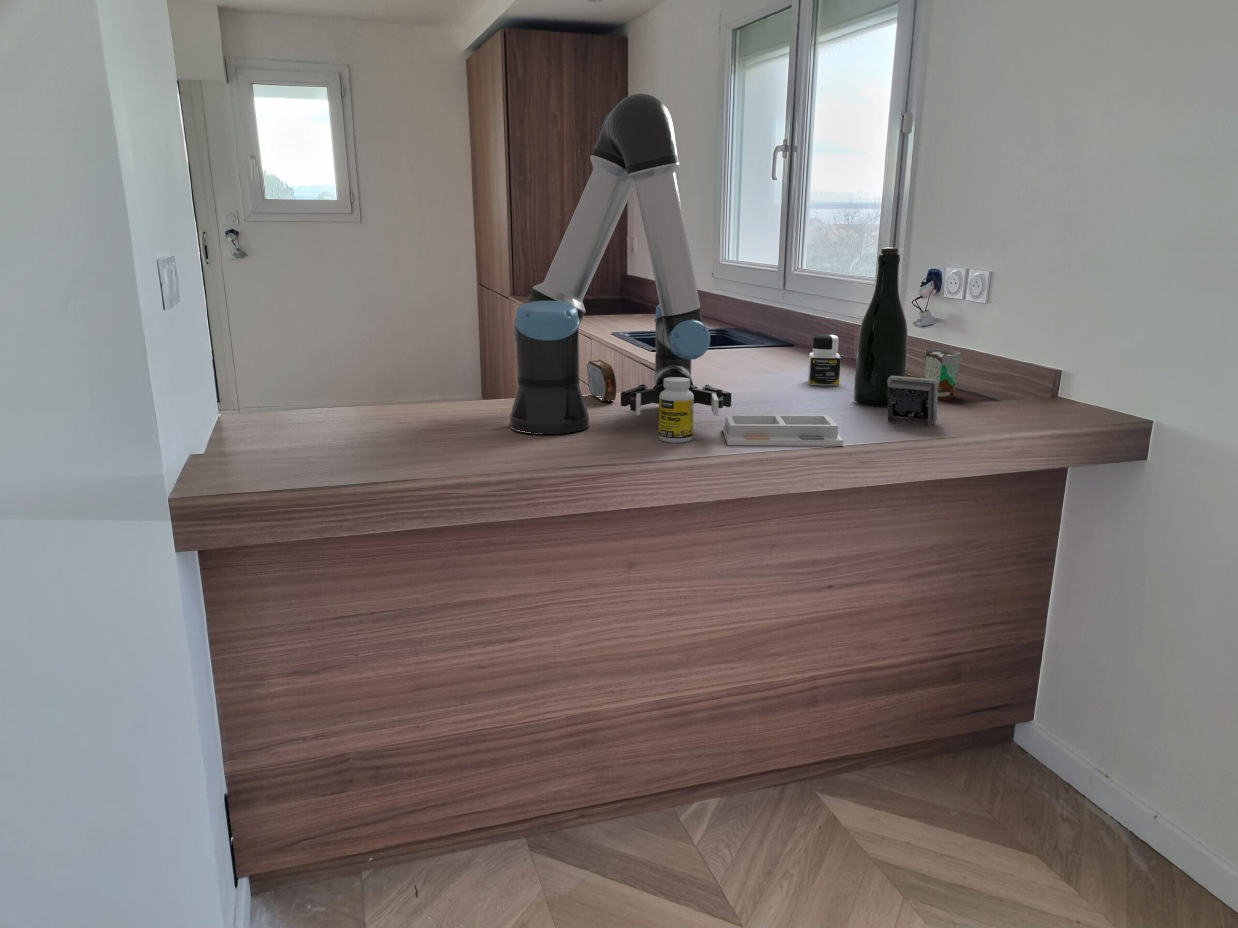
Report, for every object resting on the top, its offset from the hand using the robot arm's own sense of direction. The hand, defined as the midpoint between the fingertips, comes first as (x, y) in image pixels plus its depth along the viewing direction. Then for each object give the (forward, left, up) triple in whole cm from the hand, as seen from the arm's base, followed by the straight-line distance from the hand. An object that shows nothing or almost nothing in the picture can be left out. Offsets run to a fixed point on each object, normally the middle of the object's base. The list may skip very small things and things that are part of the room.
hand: (677, 407), depth 149 cm
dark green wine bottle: (+45, +39, -7) cm, 60 cm away
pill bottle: (0, +3, -7) cm, 7 cm away
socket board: (+19, +5, -6) cm, 21 cm away
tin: (-16, +43, -7) cm, 47 cm away
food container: (+62, +48, -7) cm, 79 cm away
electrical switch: (+46, +18, -7) cm, 50 cm away
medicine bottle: (+38, +65, -7) cm, 76 cm away
